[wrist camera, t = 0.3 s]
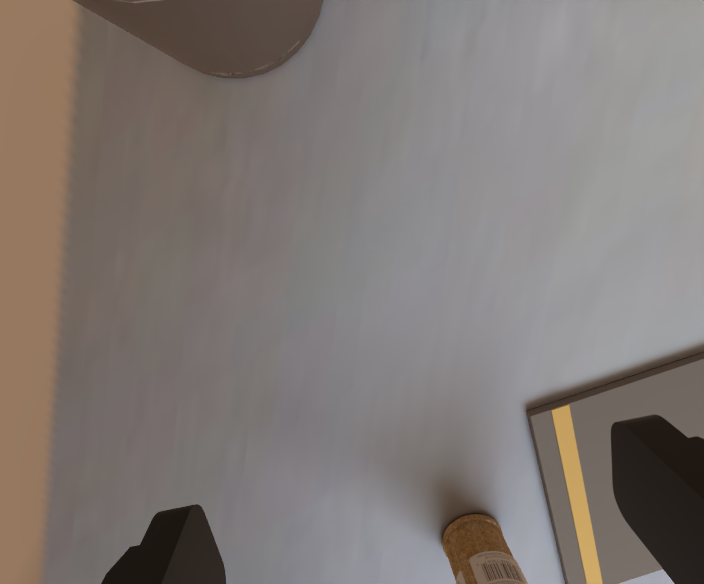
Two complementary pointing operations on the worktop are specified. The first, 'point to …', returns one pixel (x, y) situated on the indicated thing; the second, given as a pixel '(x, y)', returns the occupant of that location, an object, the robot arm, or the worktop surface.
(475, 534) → the sprinkles bottle
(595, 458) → the line mat
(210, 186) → the worktop surface
